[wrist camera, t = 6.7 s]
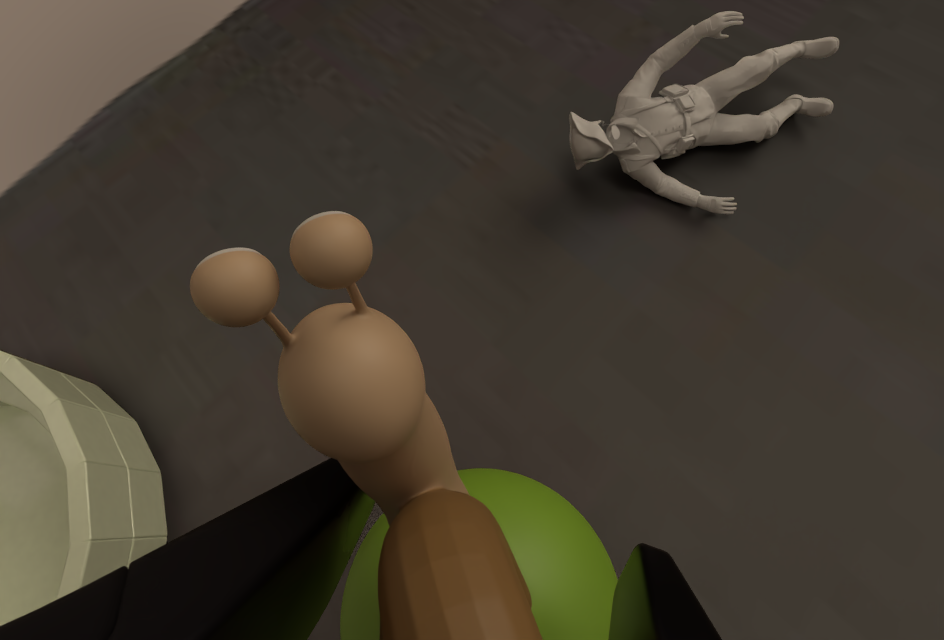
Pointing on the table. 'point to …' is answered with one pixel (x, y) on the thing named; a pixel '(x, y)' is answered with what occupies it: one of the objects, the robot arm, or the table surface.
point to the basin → (68, 486)
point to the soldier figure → (692, 112)
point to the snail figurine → (411, 467)
